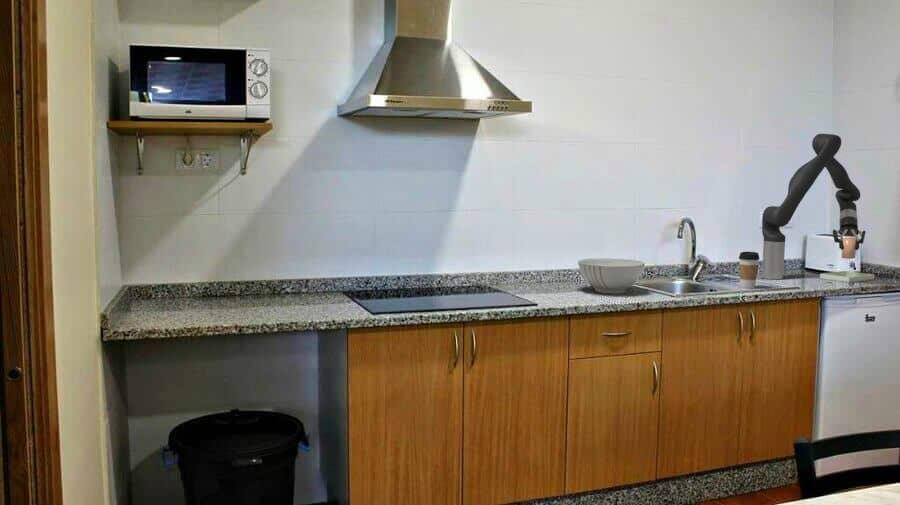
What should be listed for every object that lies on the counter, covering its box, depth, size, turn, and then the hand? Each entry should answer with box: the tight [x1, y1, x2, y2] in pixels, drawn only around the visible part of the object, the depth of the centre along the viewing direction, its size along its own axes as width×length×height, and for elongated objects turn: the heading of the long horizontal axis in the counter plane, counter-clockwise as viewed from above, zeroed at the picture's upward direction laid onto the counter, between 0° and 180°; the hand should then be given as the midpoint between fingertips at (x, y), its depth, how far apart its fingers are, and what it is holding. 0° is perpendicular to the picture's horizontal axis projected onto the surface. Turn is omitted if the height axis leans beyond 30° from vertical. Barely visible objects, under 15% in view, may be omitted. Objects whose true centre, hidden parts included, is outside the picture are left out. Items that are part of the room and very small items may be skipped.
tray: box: [819, 270, 875, 284], centre depth 358 cm, size 20×14×2 cm
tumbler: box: [841, 236, 857, 260], centre depth 357 cm, size 6×6×10 cm
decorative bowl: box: [577, 257, 646, 294], centre depth 318 cm, size 27×27×12 cm
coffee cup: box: [738, 251, 760, 290], centre depth 331 cm, size 8×8×15 cm
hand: (849, 248), depth 355 cm, fingers closed on tumbler, 5 cm apart
